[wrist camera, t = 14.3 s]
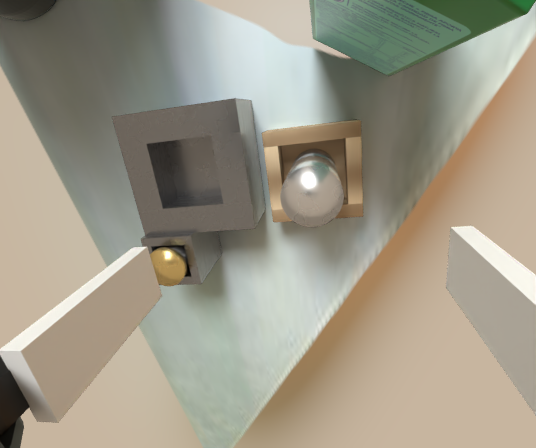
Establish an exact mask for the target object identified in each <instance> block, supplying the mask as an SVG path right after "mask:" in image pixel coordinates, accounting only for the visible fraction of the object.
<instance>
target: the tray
mask: <svg viewBox="0 0 536 448" xmlns="http://www.w3.org/2000/svg"><path fill="white" fill-rule="evenodd" d="M262 138H263V146H264V154H265V162H266V169H267V177H268V185H269V193H270V201H271V208H272V216H273V222H286V221H292V220H291V219H290V218H289V217H288V216H287V215H286V213H285V212H284V210H283V208H282V205H281V200H280V194H281V188H282V186H283V183H284V181H285V179H286V177H287V175H288V173H289V171H290V169H291V167H292V165H293V163H294V161H295V159H296V158H297V156H298V155H299V154H301V153H302V152H304V151H306V150H308V149H321V150H324V151H325V152H327V153H328V154H329V155H330V156H331V157H332V158H333V160H334V162H335V165H336V169H337V172H338V175H339V178H340V181H341V185H342V188H343V193H344V200H343V205H342V208H341V210H340V212H339V213H338V215H337V216H336V217H335V218H347V217H363V191H362V145H361V121H360V120H357V119H355V120H347V121H339V122H331V123H323V124H315V125H307V126H299V127H291V128H283V129H275V130H268V131H265V132H263V133H262Z"/></svg>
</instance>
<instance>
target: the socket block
mask: <svg viewBox="0 0 536 448" xmlns="http://www.w3.org/2000/svg"><path fill="white" fill-rule="evenodd" d="M112 120H113V123H114V127H115V130H116V134H117V137H118V141H119V144H120V148H121V151H122V155H123V158H124V162H125V165H126V169H127V172H128V176H129V179H130V183H131V186H132V190H133V194H134V197H135V201H136V204H137V208H138V211H139V215H140V218H141V222H142V225H143V229H144V232H145V236H144V237H143V238H141V242H142V245H143V247H148V251H149V254H151V253H152V252H153V251H154V250H156V249H158V248H161V247H168V246H171V245H184V247H185V251H186V255H187V260H188V263H187V272H186V275H185V277H184V278H183V279H182V280H181V282H180V283H178V284H177V285H181V284H202V282H203V281H204V279H205V278H206V277H207V275H208V274H209V272H210V271H211V269H212V268H213V266H214V265H215V263H216V262H217V260H218V259H219V257H220V256H221V254H222V250H221V245H220V240H219V235H218V231H225V230H241V229H255V228H256V226H257V224H258V222H259V220H260V218H261V217H262V215H263V213H264V211H265V209H266V207H265V200H264V192H263V185H262V177H261V170H260V163H259V155H258V148H257V140H256V133H255V126H254V118H253V111H252V103H251V100H245V99H236V98H235V99H228V100H221V101H214V102H208V103H201V104H194V105H187V106H181V107H174V108H167V109H161V110H154V111H147V112H140V113H134V114H127V115H120V116H113V117H112ZM158 284H159V283H158ZM159 285H161V284H159Z"/></svg>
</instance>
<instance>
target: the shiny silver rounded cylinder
mask: <svg viewBox="0 0 536 448" xmlns="http://www.w3.org/2000/svg"><path fill="white" fill-rule="evenodd" d="M280 200H281V205H282V208H283V210H284V212H285V213H286V215H287V216H288V217H289V218H290V219H291V220H292V221H294V222H295V223H297V224H299V225H302V226H306V227H318V226H322V225H325V224H327V223H329V222H330V221H331V220H333V219H334V218H335V217H336V216H337V215H338V213H339V212H340V210H341V208H342V205H343V200H344V193H343V188H342V185H341V181H340V178H339V175H338V172H337V169H336V165H335V162H334V160H333V158H332V157H331V156H330V155H329V154H328V153H327V152H325V151H324V150H321V149H308V150H306V151H304V152H302V153H301V154H299V155H298V156H297V158H296V159H295V161H294V163H293V165H292V167H291V169H290V171H289V173H288V175H287V177H286V179H285V181H284V183H283V186H282V188H281V194H280Z"/></svg>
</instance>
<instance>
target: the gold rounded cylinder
mask: <svg viewBox="0 0 536 448" xmlns="http://www.w3.org/2000/svg"><path fill="white" fill-rule="evenodd" d="M150 257H151V261H152V264H153V267H154V271H155V274H156V277H157V281H158V283H159V284H161V285H164V286H174V285H177V284H178V283H180V282H181V280H182V279H183V278H184V277H185V275H186V272H187V263H188V260H187V255H186V251H185V247H184V245H171V246H168V247H161V248H158V249H156V250H154V251H153V252H152V253H151V254H150Z"/></svg>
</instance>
